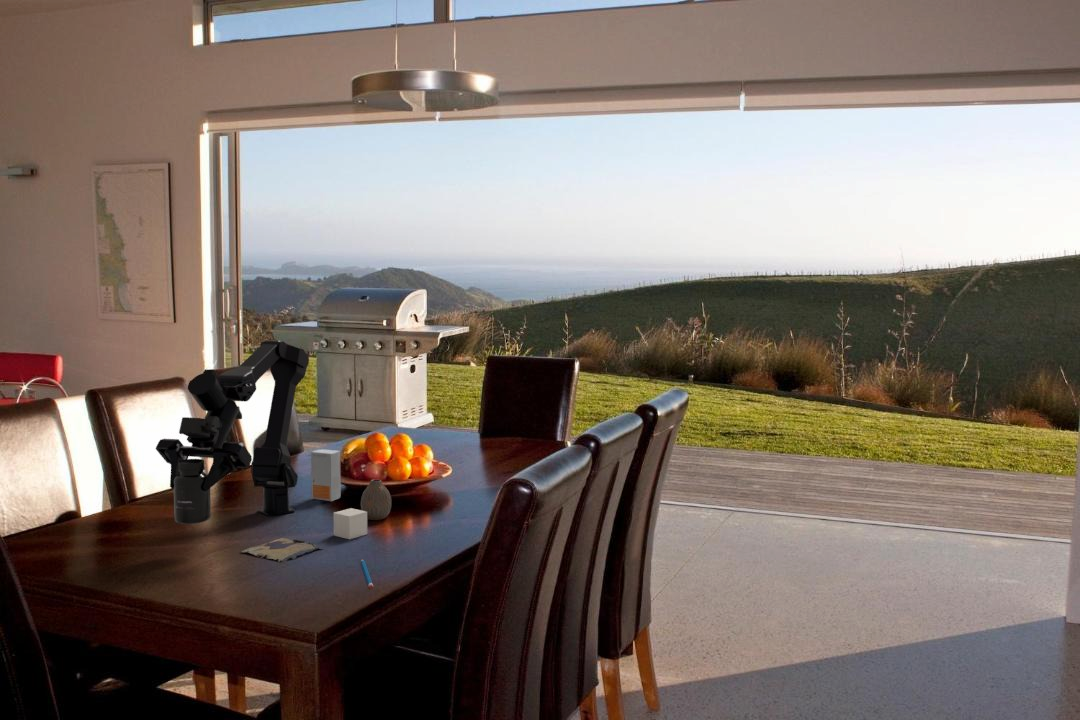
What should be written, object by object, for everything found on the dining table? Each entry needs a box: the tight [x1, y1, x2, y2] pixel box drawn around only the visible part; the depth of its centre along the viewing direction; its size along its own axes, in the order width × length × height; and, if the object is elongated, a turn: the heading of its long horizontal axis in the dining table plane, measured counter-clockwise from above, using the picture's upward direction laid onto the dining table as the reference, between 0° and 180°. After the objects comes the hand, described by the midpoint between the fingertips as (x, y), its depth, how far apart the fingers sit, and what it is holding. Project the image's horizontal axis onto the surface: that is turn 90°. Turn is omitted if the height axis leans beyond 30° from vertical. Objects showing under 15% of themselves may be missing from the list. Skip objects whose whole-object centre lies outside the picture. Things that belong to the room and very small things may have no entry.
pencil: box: [360, 559, 374, 589], centre depth 175 cm, size 1×17×1 cm, turn 16°
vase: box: [360, 478, 392, 521], centre depth 214 cm, size 7×7×9 cm
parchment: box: [240, 537, 323, 563], centre depth 189 cm, size 12×13×1 cm
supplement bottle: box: [173, 458, 212, 525], centre depth 186 cm, size 7×7×12 cm
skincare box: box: [310, 448, 341, 502], centre depth 232 cm, size 6×4×12 cm
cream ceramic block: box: [333, 507, 368, 540], centre depth 201 cm, size 5×5×5 cm
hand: (188, 488), depth 185 cm, fingers closed on supplement bottle, 7 cm apart
